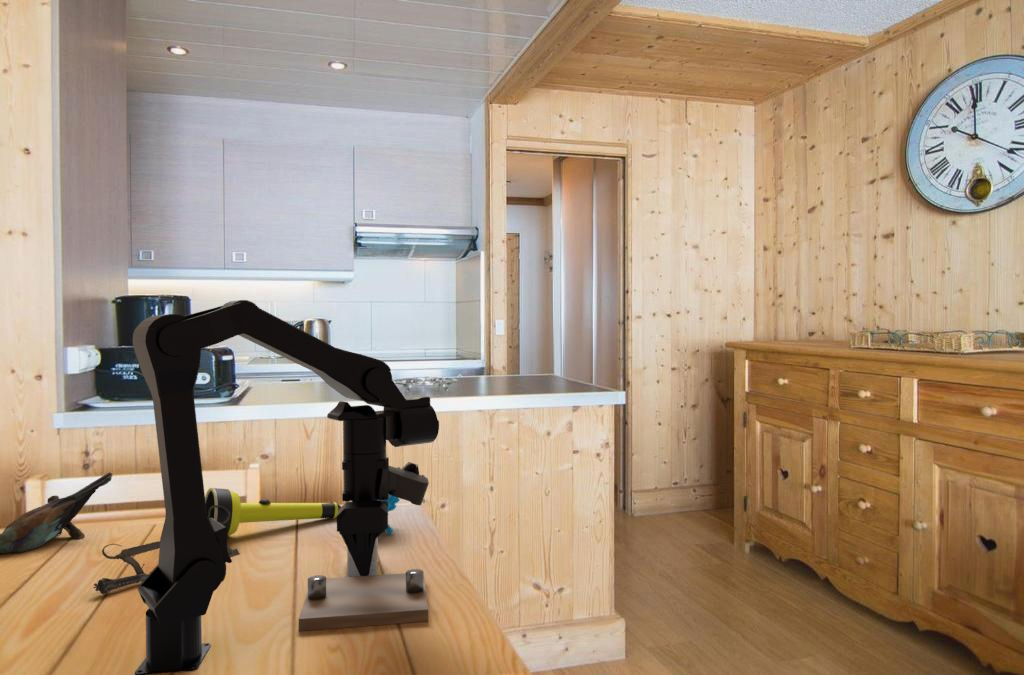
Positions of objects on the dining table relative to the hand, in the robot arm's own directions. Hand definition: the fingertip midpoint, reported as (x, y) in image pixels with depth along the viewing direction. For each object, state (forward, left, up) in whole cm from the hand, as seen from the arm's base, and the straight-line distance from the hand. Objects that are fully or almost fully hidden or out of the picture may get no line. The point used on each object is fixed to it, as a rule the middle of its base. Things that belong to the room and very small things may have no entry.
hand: (365, 565), depth 95 cm
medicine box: (+14, +1, -6) cm, 15 cm away
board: (0, 0, -5) cm, 5 cm away
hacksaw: (+18, +29, -6) cm, 35 cm away
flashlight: (+38, +18, -6) cm, 42 cm away
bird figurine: (+46, +50, -1) cm, 68 cm away
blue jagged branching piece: (+34, +1, -6) cm, 35 cm away
